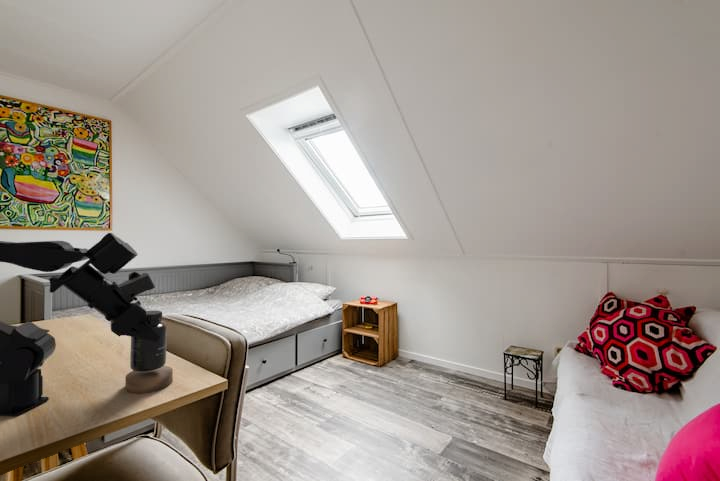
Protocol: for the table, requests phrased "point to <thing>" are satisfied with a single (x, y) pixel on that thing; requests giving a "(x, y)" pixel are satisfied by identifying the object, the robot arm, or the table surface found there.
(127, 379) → the walnut stand
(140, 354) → the supplement bottle
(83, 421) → the table surface
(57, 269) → the robot arm
